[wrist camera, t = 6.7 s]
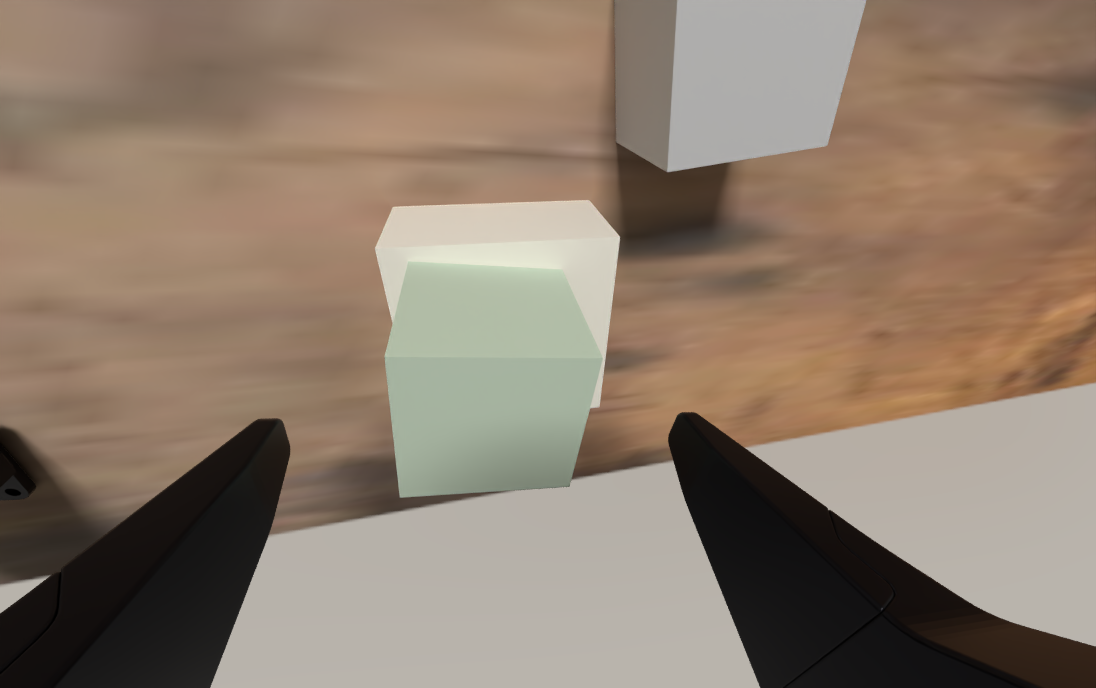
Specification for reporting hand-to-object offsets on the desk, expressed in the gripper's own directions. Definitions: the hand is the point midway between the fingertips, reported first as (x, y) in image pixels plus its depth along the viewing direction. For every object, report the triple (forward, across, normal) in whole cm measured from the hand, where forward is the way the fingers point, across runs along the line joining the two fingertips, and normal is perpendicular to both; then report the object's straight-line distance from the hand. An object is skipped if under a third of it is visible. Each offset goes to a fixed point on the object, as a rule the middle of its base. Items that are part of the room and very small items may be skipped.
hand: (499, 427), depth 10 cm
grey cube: (+8, -6, -8) cm, 13 cm away
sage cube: (+5, 0, 0) cm, 5 cm away
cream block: (+9, -1, +1) cm, 9 cm away
